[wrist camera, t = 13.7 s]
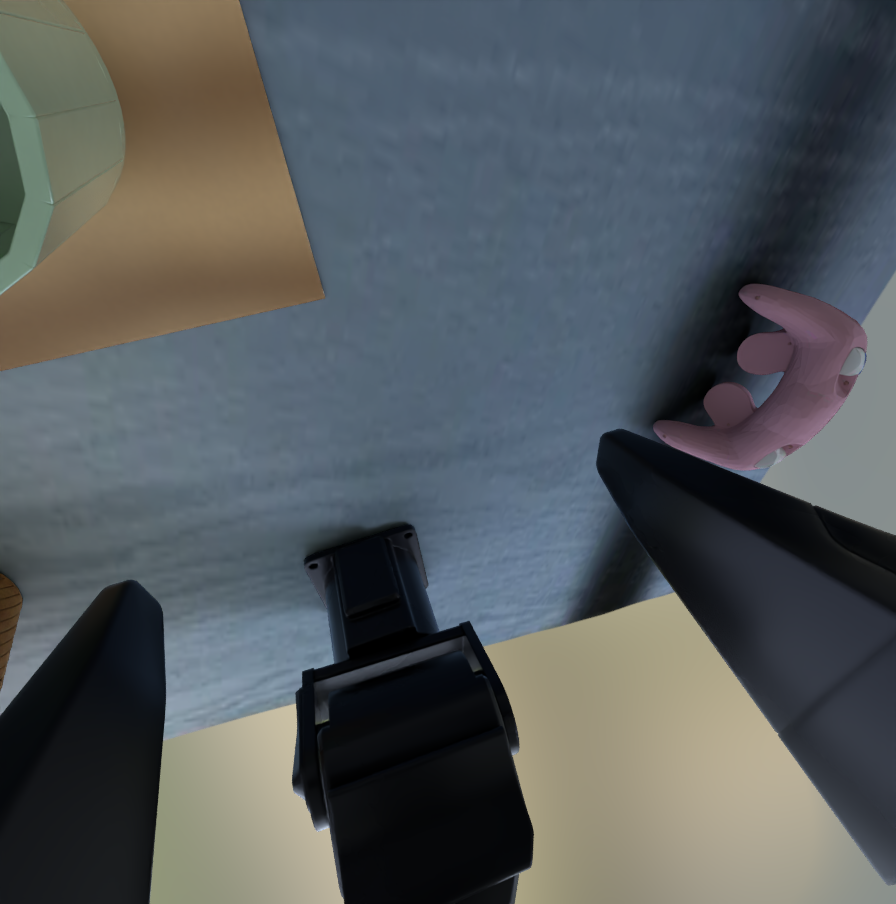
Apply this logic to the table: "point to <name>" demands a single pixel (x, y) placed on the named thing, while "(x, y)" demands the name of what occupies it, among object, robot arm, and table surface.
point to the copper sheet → (171, 194)
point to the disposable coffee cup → (8, 619)
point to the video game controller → (798, 393)
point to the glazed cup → (51, 132)
